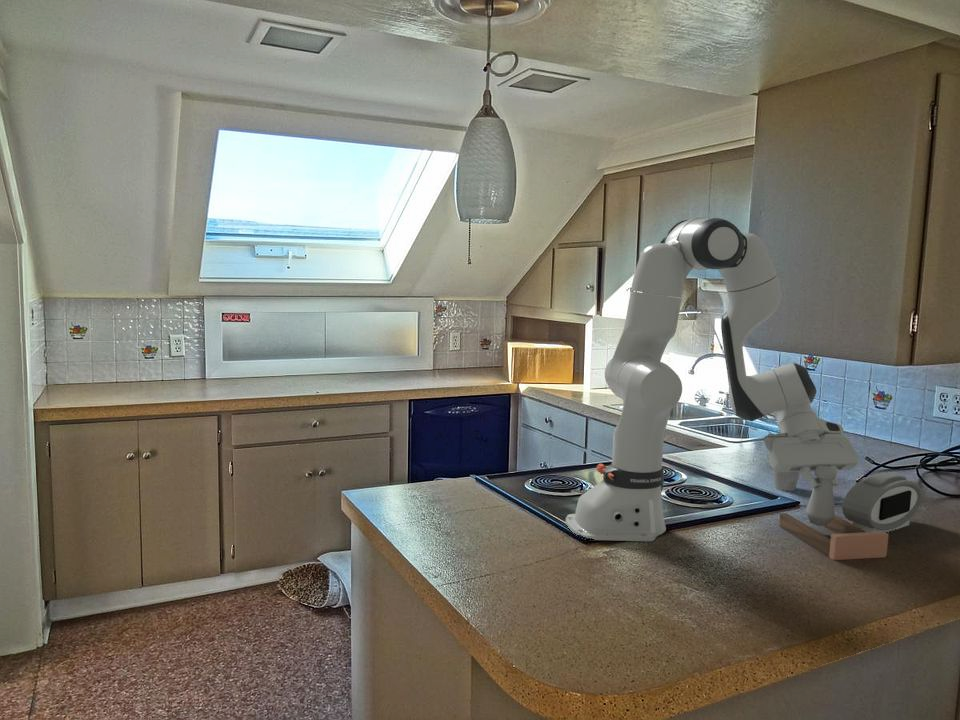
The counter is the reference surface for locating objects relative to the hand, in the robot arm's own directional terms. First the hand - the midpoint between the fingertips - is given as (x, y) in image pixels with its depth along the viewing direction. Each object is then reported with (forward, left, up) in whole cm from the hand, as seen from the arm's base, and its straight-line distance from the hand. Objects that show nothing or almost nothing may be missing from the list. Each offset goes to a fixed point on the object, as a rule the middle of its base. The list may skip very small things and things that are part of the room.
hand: (825, 486), depth 164 cm
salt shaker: (0, +1, -9) cm, 9 cm away
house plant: (+11, +34, -11) cm, 37 cm away
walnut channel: (0, -2, -11) cm, 11 cm away
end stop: (0, -12, -11) cm, 17 cm away
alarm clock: (+17, +2, -12) cm, 21 cm away
